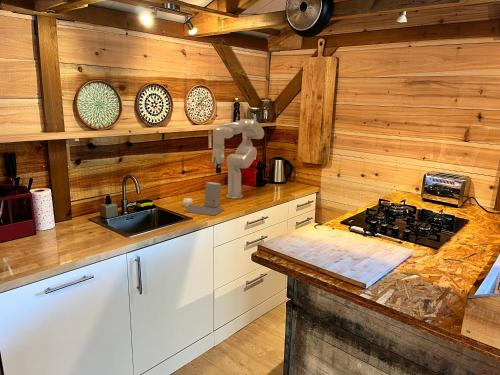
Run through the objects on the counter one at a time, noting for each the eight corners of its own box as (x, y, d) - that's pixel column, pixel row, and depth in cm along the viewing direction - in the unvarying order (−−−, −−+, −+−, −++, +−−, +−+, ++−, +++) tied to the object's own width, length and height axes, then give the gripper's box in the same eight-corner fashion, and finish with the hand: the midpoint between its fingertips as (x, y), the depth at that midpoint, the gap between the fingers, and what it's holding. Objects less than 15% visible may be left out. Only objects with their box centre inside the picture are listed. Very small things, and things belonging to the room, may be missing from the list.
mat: (195, 205, 256) (195, 205, 256) (225, 209, 248) (225, 209, 248) (183, 211, 243) (183, 211, 242) (214, 216, 235) (214, 215, 235)
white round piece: (186, 204, 259) (186, 197, 258) (194, 205, 257) (194, 198, 256) (181, 206, 254) (181, 199, 253) (189, 207, 252) (189, 200, 250)
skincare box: (204, 206, 254) (204, 182, 252) (209, 204, 260) (210, 181, 258) (214, 208, 250) (215, 184, 248) (220, 206, 257) (221, 182, 254)
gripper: (218, 145, 264) (218, 171, 268) (208, 147, 250) (208, 174, 254) (228, 145, 261) (228, 172, 265) (218, 147, 247) (218, 175, 251)
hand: (218, 173), depth 260 cm, fingers closed
